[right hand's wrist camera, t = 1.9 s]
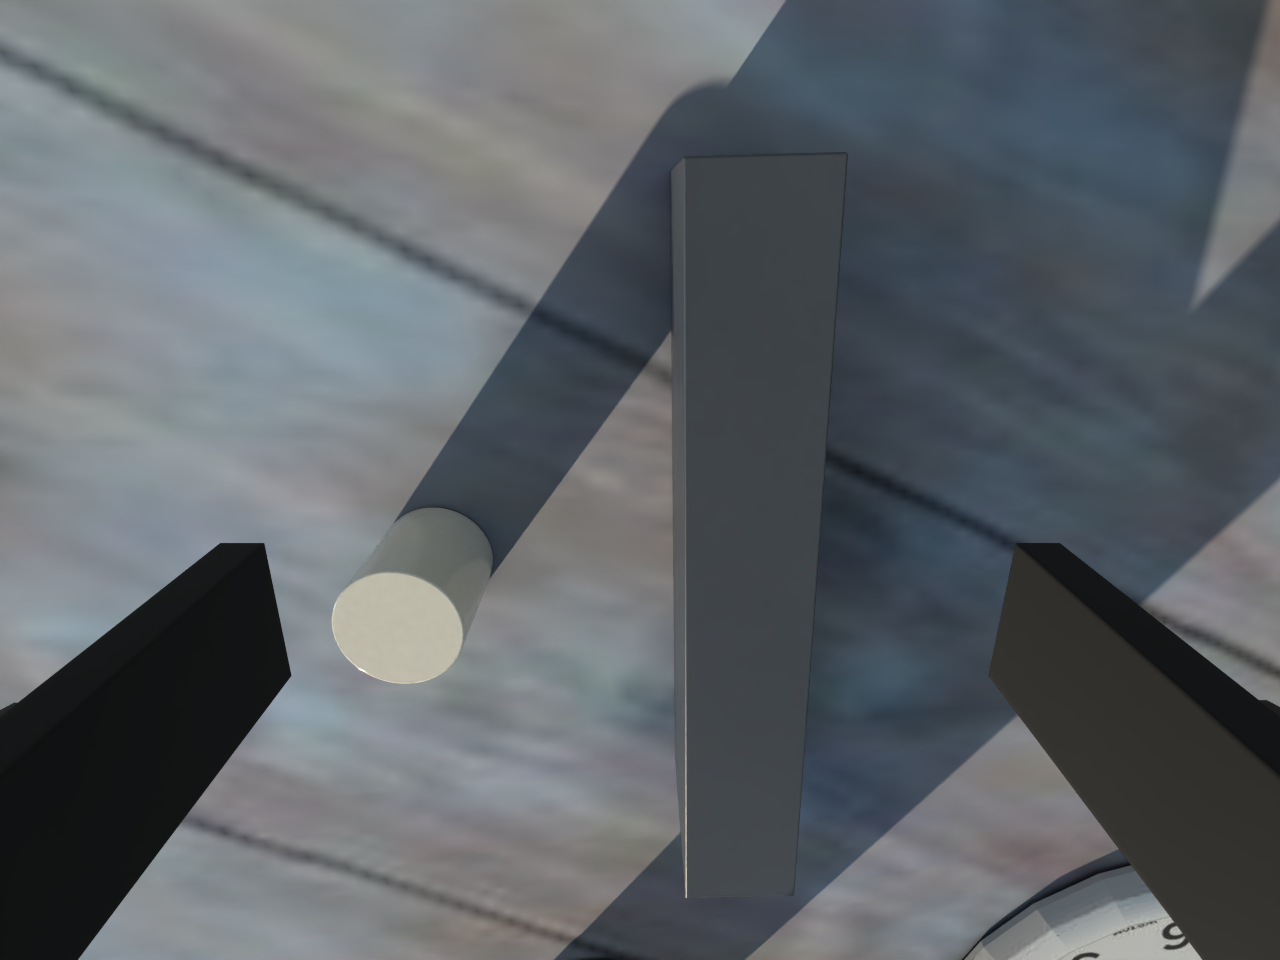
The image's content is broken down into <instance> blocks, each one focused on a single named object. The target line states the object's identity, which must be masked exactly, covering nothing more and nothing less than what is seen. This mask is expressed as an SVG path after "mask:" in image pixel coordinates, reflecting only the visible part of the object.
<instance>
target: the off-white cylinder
mask: <svg viewBox="0 0 1280 960" xmlns="http://www.w3.org/2000/svg"><path fill="white" fill-rule="evenodd" d="M492 568H493V555H492V550H491V547H490V544H489V542H488V540H487V538H486V536H485V535H484V533H483V532H482V530H481V529H480V528H479V527H478V526H477V525H476V524H475V523H474V522H473V521H471V520H470V519H468V518H467V517H465V516H464V515H462V514H460V513H457V512H455V511H452V510H448V509H444V508H422V509H417V510H414V511H412V512H409V513H407V514H405V515H404V516H402V517H401V518H399V519H398V520H397V521H396V522H395V523H394V524H393V525H392V526H391V528H390V529H389V530H388V532H387V533H386V534H385V536H384V537H383V538H382V540H381V541H380V542H379V544H378V545H377V546H376V547H375V549H374V550H373V551H372V553H371V554H370V555H369V557H368V558H367V559H366V561H365V562H364V563H363V565H362V566H361V567H360V569H359V570H358V571H357V572H356V574H355V575H354V576H353V578H352V579H351V580H350V582H349V583H348V584H347V586H346V587H345V588H344V590H343V591H342V592H341V594H340V595H339V597H338V598H337V600H336V602H335V605H334V608H333V613H332V628H333V633H334V636H335V639H336V642H337V644H338V646H339V647H340V649H341V651H342V652H343V654H344V655H345V656H346V657H347V659H349V660H350V661H351V662H352V663H353V664H354V665H355V666H356V667H358V668H359V669H360V670H362V671H363V672H365V673H367V674H369V675H371V676H373V677H375V678H378V679H381V680H384V681H388V682H393V683H404V684H409V683H418V682H423V681H426V680H429V679H432V678H434V677H436V676H438V675H440V674H441V673H443V672H445V671H446V670H447V669H448V668H449V667H451V665H452V664H453V663H454V662H455V661H456V659H457V658H458V656H459V654H460V652H461V650H462V647H463V645H464V642H465V640H466V637H467V635H468V632H469V629H470V627H471V624H472V622H473V619H474V617H475V614H476V612H477V609H478V606H479V604H480V601H481V599H482V596H483V594H484V591H485V589H486V586H487V583H488V581H489V578H490V576H491V572H492Z"/></svg>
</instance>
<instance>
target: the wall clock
mask: <svg viewBox="0 0 1280 960" xmlns="http://www.w3.org/2000/svg"><path fill="white" fill-rule="evenodd" d="M964 960H1202V959H1201V957H1200V956H1199V955H1198V953H1197V952H1196V951H1195V949H1194V948H1193V947H1192V946H1191V944H1190V943H1189V942H1188V940H1187V939H1186V938H1185V936H1184V935H1183V934H1182V932H1181V931H1180V930H1179V928H1178V927H1177V926H1176V924H1175V923H1174V922H1173V920H1172V919H1171V918H1170V916H1169V915H1168V914H1167V912H1166V911H1165V910H1164V908H1163V907H1162V906H1161V904H1160V903H1159V902H1158V900H1157V899H1156V898H1155V896H1154V895H1153V894H1152V892H1151V891H1150V890H1149V888H1148V887H1147V886H1146V884H1145V883H1144V882H1143V880H1142V879H1141V878H1140V876H1139V875H1138V874H1137V872H1136V871H1135V870H1134V868H1133V867H1132V866H1131V865H1130V866H1126V867H1123V868H1119V869H1115V870H1111V871H1107V872H1103V873H1100V874H1097V875H1095V876H1093V877H1090V878H1088V879H1086V880H1084V881H1082V882H1079V883H1077V884H1075V885H1073V886H1071V887H1068V888H1066V889H1064V890H1062V891H1060V892H1058V893H1055V894H1053V895H1051V896H1049V897H1047V898H1044V899H1042V900H1040V901H1038V902H1036V903H1034V904H1032V905H1031V906H1029V907H1028V908H1027V909H1025V910H1024V911H1022V912H1021V913H1019V914H1018V915H1017V916H1015V917H1014V918H1012V919H1011V920H1010V921H1008V922H1007V923H1005V924H1004V925H1003V926H1001V927H1000V928H998V929H997V930H996V931H994V932H993V933H991V934H990V935H989V936H987V937H986V938H984V939H983V940H982V941H980V943H979V944H978V945H977V946H976V947H975V948H974V949H973V950H972V952H971V953H970V954H969V955H968V956H967V957H966V958H965V959H964Z"/></svg>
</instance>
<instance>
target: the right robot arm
mask: <svg viewBox="0 0 1280 960" xmlns="http://www.w3.org/2000/svg"><path fill="white" fill-rule="evenodd" d="M290 677H291V671H290V667H289V662H288V657H287V652H286V647H285V642H284V637H283V632H282V628H281V623H280V618H279V613H278V608H277V603H276V598H275V594H274V589H273V584H272V579H271V574H270V569H269V564H268V559H267V555H266V550H265V545H264V543H220V544H219V545H217V546H216V547H215V548H214V549H212V550H211V551H210V552H208V553H207V554H206V555H205V556H203V557H202V558H201V559H200V560H198V561H197V562H196V563H195V564H193V565H192V566H191V567H189V568H188V569H187V570H186V571H184V572H183V573H182V574H181V575H179V576H178V577H177V578H176V579H174V580H173V581H172V582H170V583H169V584H168V585H167V586H165V587H164V588H163V589H162V590H160V591H159V592H158V593H156V594H155V595H154V596H153V597H151V598H150V599H149V600H148V601H146V602H145V603H144V604H143V605H141V606H140V607H139V608H137V609H136V610H135V611H134V612H132V613H131V614H130V615H129V616H127V617H126V618H125V619H124V620H122V621H121V622H120V623H118V624H117V625H116V626H115V627H113V628H112V629H111V630H110V631H108V632H107V633H106V634H105V635H103V636H102V637H101V638H99V639H98V640H97V641H96V642H94V643H93V644H92V645H91V646H89V647H88V648H87V649H86V650H84V651H83V652H82V653H80V654H79V655H78V656H77V657H75V658H74V659H73V660H72V661H70V662H69V663H68V664H67V665H65V666H64V667H63V668H61V669H60V670H59V671H58V672H56V673H55V674H54V675H53V676H51V677H50V678H49V679H48V680H46V681H45V682H44V683H42V684H41V685H40V686H39V687H37V688H36V689H35V690H34V691H32V692H31V693H30V694H28V695H27V696H26V697H25V698H23V699H22V700H21V701H20V702H18V703H13V704H11V705H9V706H7V707H5V708H3V709H1V710H0V960H78V959H79V957H80V956H81V955H82V953H83V952H84V951H85V949H86V948H87V947H88V946H89V944H90V943H91V942H92V940H93V939H94V938H95V936H96V935H97V934H98V932H99V931H100V930H101V928H102V927H103V926H104V924H105V923H106V922H107V920H108V919H109V918H110V916H111V915H112V914H113V912H114V911H115V910H116V908H117V907H118V906H119V904H120V903H121V902H122V900H123V899H124V898H125V896H126V895H127V894H128V892H129V891H130V890H131V888H132V887H133V886H134V884H135V883H136V882H137V880H138V879H139V878H140V876H141V875H142V874H143V872H144V871H145V870H146V868H147V867H148V866H149V864H150V863H151V862H152V860H153V859H154V858H155V856H156V855H157V854H158V852H159V851H160V850H161V848H162V847H163V846H164V844H165V843H166V842H167V840H168V839H169V838H170V836H171V835H172V834H173V832H174V831H175V830H176V828H177V827H178V826H179V824H180V823H181V822H182V820H183V819H184V818H185V816H186V815H187V814H188V812H189V811H190V810H191V809H192V807H193V806H194V805H195V803H196V802H197V801H198V799H199V798H200V797H201V795H202V794H203V793H204V791H205V790H206V789H207V787H208V786H209V785H210V783H211V782H212V781H213V779H214V778H215V777H216V775H217V774H218V773H219V771H220V770H221V769H222V767H223V766H224V765H225V763H226V762H227V761H228V759H229V758H230V757H231V755H232V754H233V753H234V751H235V750H236V749H237V747H238V746H239V745H240V743H241V742H242V741H243V739H244V738H245V737H246V735H247V734H248V733H249V731H250V730H251V729H252V727H253V726H254V725H255V723H256V722H257V721H258V719H259V718H260V717H261V715H262V714H263V713H264V711H265V710H266V709H267V707H268V706H269V705H270V703H271V702H272V701H273V699H274V698H275V697H276V695H277V694H278V693H279V691H280V690H281V689H282V687H283V686H284V685H285V683H286V682H287V681H288V679H289V678H290ZM989 677H990V678H991V679H992V681H993V682H994V683H995V685H996V686H997V687H998V689H999V690H1000V691H1001V693H1002V694H1003V695H1004V697H1005V698H1006V699H1007V701H1008V702H1009V703H1010V705H1011V706H1012V707H1013V709H1014V710H1015V711H1016V713H1017V714H1018V715H1019V717H1020V718H1021V719H1022V721H1023V722H1024V723H1025V725H1026V726H1027V727H1028V729H1029V730H1030V731H1031V733H1032V734H1033V735H1034V737H1035V738H1036V739H1037V741H1038V742H1039V743H1040V745H1041V746H1042V747H1043V749H1044V750H1045V751H1046V753H1047V754H1048V755H1049V757H1050V758H1051V759H1052V761H1053V762H1054V763H1055V765H1056V766H1057V767H1058V769H1059V770H1060V771H1061V773H1062V774H1063V775H1064V777H1065V778H1066V779H1067V781H1068V782H1069V783H1070V785H1071V786H1072V787H1073V789H1074V790H1075V791H1076V793H1077V794H1078V795H1079V797H1080V798H1081V799H1082V801H1083V802H1084V803H1085V805H1086V806H1087V807H1088V809H1089V810H1090V811H1091V812H1092V814H1093V815H1094V816H1095V818H1096V819H1097V820H1098V822H1099V823H1100V824H1101V826H1102V827H1103V828H1104V830H1105V831H1106V832H1107V834H1108V835H1109V836H1110V838H1111V839H1112V840H1113V842H1114V843H1115V844H1116V846H1117V847H1118V848H1119V850H1120V851H1121V852H1122V854H1123V855H1124V856H1125V858H1126V859H1127V860H1128V862H1129V863H1130V864H1131V866H1132V867H1133V868H1134V870H1135V871H1136V872H1137V874H1138V875H1139V876H1140V878H1141V879H1142V880H1143V882H1144V883H1145V884H1146V886H1147V887H1148V888H1149V890H1150V891H1151V892H1152V894H1153V895H1154V896H1155V898H1156V899H1157V900H1158V902H1159V903H1160V904H1161V906H1162V907H1163V908H1164V910H1165V911H1166V912H1167V914H1168V915H1169V916H1170V918H1171V919H1172V920H1173V922H1174V923H1175V924H1176V926H1177V927H1178V928H1179V930H1180V931H1181V932H1182V934H1183V935H1184V936H1185V938H1186V939H1187V940H1188V942H1189V943H1190V944H1191V946H1192V947H1193V948H1194V949H1195V951H1196V952H1197V953H1198V955H1199V956H1200V957H1201V959H1202V960H1280V707H1279V706H1277V705H1275V704H1273V703H1271V702H1269V701H1267V700H1258V699H1257V698H1255V697H1254V696H1253V695H1252V694H1250V693H1249V692H1248V691H1246V690H1245V689H1244V688H1243V687H1241V686H1240V685H1239V684H1238V683H1236V682H1235V681H1234V680H1232V679H1231V678H1230V677H1229V676H1227V675H1226V674H1225V673H1224V672H1222V671H1221V670H1220V669H1219V668H1217V667H1216V666H1215V665H1213V664H1212V663H1211V662H1210V661H1208V660H1207V659H1206V658H1205V657H1203V656H1202V655H1201V654H1200V653H1198V652H1197V651H1196V650H1194V649H1193V648H1192V647H1191V646H1189V645H1188V644H1187V643H1186V642H1184V641H1183V640H1182V639H1181V638H1179V637H1178V636H1177V635H1175V634H1174V633H1173V632H1172V631H1170V630H1169V629H1168V628H1167V627H1165V626H1164V625H1163V624H1162V623H1160V622H1159V621H1158V620H1156V619H1155V618H1154V617H1153V616H1151V615H1150V614H1149V613H1148V612H1146V611H1145V610H1144V609H1143V608H1141V607H1140V606H1139V605H1137V604H1136V603H1135V602H1134V601H1132V600H1131V599H1130V598H1129V597H1127V596H1126V595H1125V594H1124V593H1122V592H1121V591H1120V590H1118V589H1117V588H1116V587H1115V586H1113V585H1112V584H1111V583H1110V582H1108V581H1107V580H1106V579H1104V578H1103V577H1102V576H1101V575H1099V574H1098V573H1097V572H1096V571H1094V570H1093V569H1092V568H1091V567H1089V566H1088V565H1087V564H1085V563H1084V562H1083V561H1082V560H1080V559H1079V558H1078V557H1077V556H1075V555H1074V554H1073V553H1072V552H1070V551H1069V550H1068V549H1066V548H1065V547H1064V546H1063V545H1061V544H1060V543H1016V545H1015V550H1014V555H1013V559H1012V564H1011V569H1010V574H1009V579H1008V584H1007V589H1006V594H1005V598H1004V603H1003V608H1002V613H1001V618H1000V623H999V628H998V632H997V637H996V642H995V647H994V652H993V657H992V662H991V667H990V671H989Z"/></svg>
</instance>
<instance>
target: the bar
mask: <svg viewBox="0 0 1280 960" xmlns="http://www.w3.org/2000/svg"><path fill="white" fill-rule="evenodd" d="M847 159H848V154H847V153H846V152H833V153H796V154H759V155H722V156H686V157H684V158H683V159H682V160H681V161H680V162H679V163H678V164H677V165H676V166H675V167H674V168H673V169H672V170H671V171H670V235H671V345H672V455H673V565H674V676H675V762H676V776H677V790H678V803H679V817H680V831H681V844H682V858H683V872H684V886H685V897H686V898H716V897H758V896H793V895H794V887H795V874H796V860H797V846H798V832H799V819H800V805H801V791H802V777H803V764H804V750H805V736H806V722H807V709H808V695H809V681H810V667H811V654H812V640H813V626H814V612H815V599H816V585H817V571H818V557H819V544H820V530H821V516H822V502H823V489H824V475H825V461H826V447H827V434H828V420H829V406H830V392H831V379H832V365H833V351H834V337H835V324H836V310H837V296H838V282H839V269H840V255H841V241H842V227H843V214H844V200H845V186H846V172H847Z"/></svg>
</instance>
